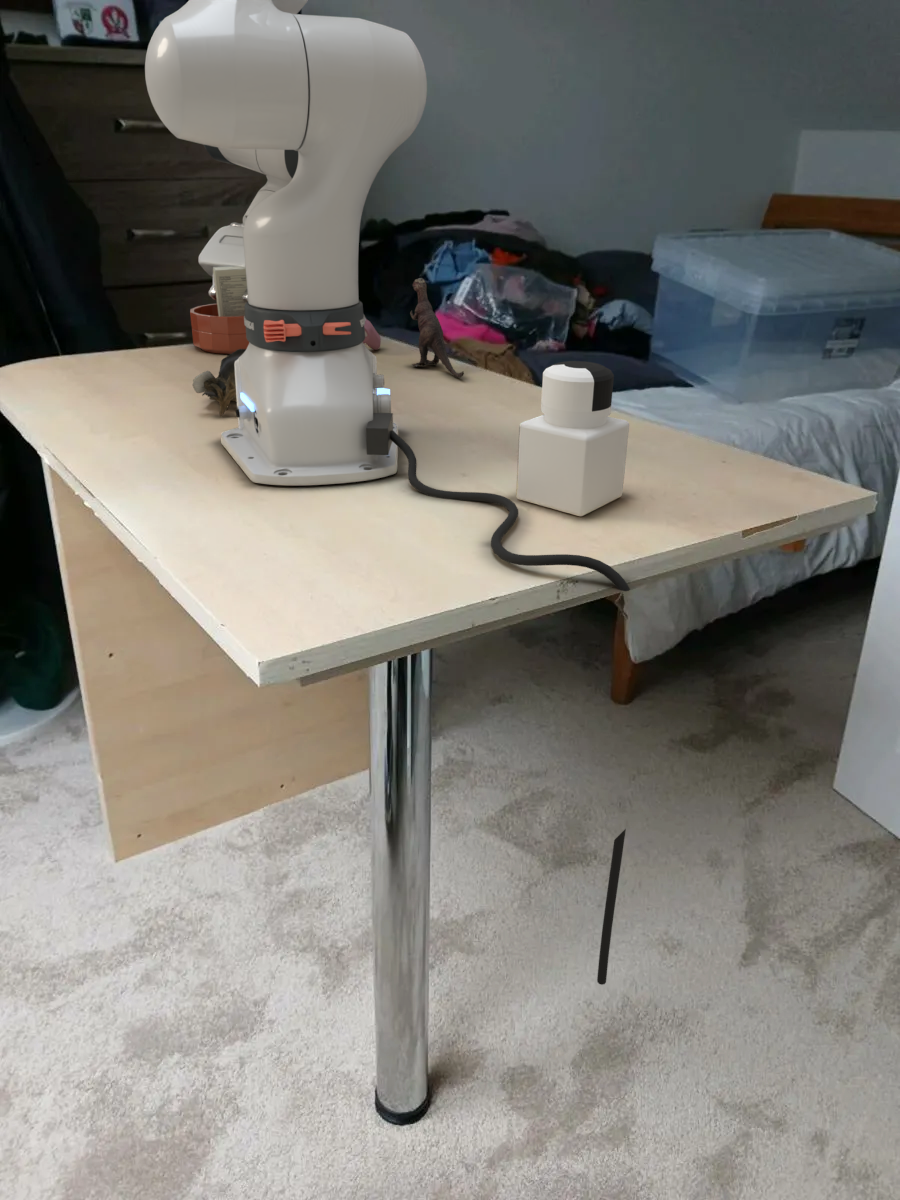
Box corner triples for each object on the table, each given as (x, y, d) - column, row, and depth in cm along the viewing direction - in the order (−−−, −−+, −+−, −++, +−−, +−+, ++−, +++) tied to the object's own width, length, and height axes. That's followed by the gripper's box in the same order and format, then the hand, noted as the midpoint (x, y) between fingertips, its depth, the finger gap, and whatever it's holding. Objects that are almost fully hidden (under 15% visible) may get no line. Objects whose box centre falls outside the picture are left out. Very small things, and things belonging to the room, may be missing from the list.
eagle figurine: (270, 406, 109) (274, 374, 116) (230, 357, 105) (237, 327, 112) (218, 439, 111) (225, 406, 118) (176, 392, 107) (187, 361, 114)
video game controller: (315, 358, 145) (304, 320, 139) (325, 340, 147) (315, 301, 142) (375, 363, 142) (366, 324, 137) (384, 344, 145) (376, 305, 139)
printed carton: (252, 332, 147) (246, 264, 143) (256, 337, 143) (250, 268, 139) (218, 334, 146) (211, 265, 141) (221, 339, 142) (214, 269, 137)
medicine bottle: (558, 480, 90) (566, 353, 85) (623, 497, 86) (636, 364, 81) (514, 499, 85) (520, 365, 80) (581, 518, 81) (592, 378, 76)
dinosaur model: (421, 274, 132) (483, 295, 121) (422, 357, 138) (481, 384, 127) (396, 277, 130) (457, 299, 119) (398, 361, 136) (456, 389, 125)
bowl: (284, 353, 141) (282, 315, 138) (193, 356, 138) (189, 318, 136) (278, 336, 152) (276, 301, 150) (194, 339, 149) (190, 303, 147)
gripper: (214, 208, 147) (172, 280, 144) (310, 215, 137) (266, 292, 134) (238, 236, 152) (198, 306, 150) (332, 245, 142) (290, 320, 139)
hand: (231, 300), depth 142 cm, fingers closed on printed carton, 6 cm apart
